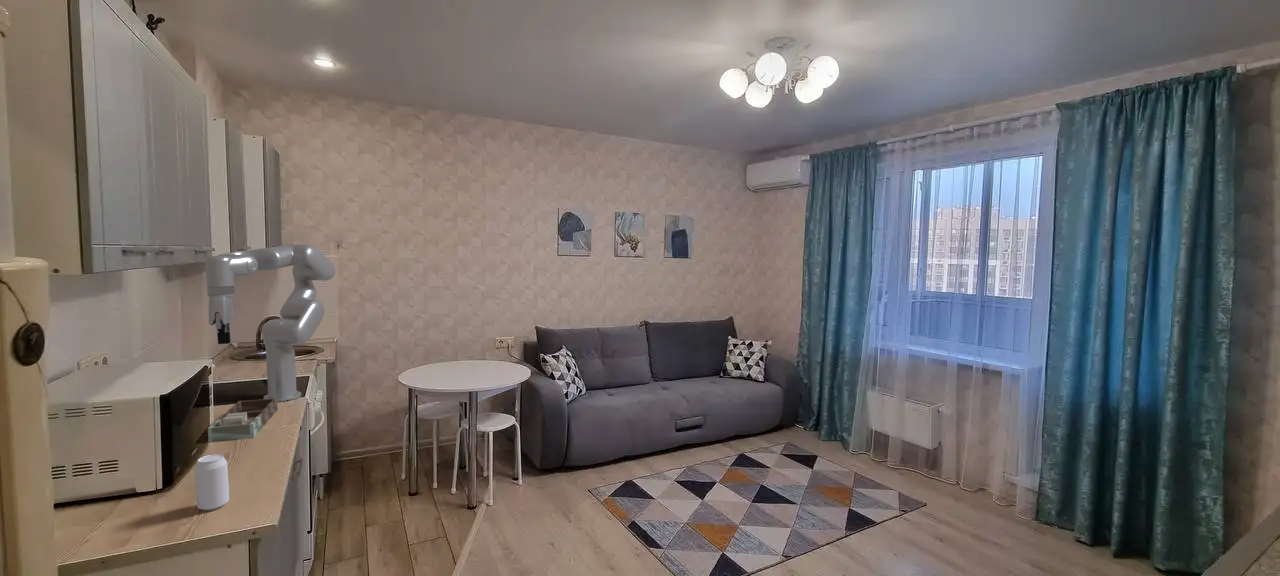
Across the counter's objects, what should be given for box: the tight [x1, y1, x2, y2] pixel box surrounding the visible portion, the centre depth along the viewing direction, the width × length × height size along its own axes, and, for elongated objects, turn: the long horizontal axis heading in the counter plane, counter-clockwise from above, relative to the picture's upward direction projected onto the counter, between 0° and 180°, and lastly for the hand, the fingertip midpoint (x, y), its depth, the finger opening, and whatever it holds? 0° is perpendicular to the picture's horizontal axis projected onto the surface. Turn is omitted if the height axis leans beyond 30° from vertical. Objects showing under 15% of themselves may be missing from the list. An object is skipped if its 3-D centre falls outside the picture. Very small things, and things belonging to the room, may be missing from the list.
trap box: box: [207, 398, 279, 443], centre depth 187 cm, size 30×12×4 cm, turn 21°
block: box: [223, 412, 247, 426], centre depth 178 cm, size 5×5×4 cm
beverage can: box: [193, 453, 230, 511], centre depth 131 cm, size 6×6×12 cm
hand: (224, 343), depth 191 cm, fingers closed
